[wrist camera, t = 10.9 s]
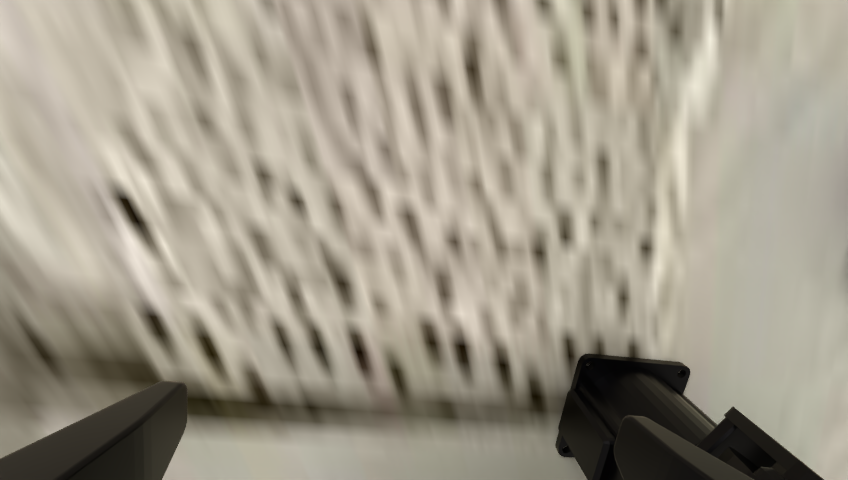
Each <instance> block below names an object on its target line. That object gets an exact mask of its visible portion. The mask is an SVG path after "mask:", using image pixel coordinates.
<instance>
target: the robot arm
mask: <svg viewBox="0 0 848 480" xmlns="http://www.w3.org/2000/svg"><path fill="white" fill-rule="evenodd" d="M588 362H591V363H590V365H588V366H586V364H587V363H588ZM680 370H681V371H680ZM679 371H680V372H679ZM678 372H679V373H678ZM689 375H690V369H689V368H688V367H687V366H685V365H684V364H683V363H681V362H672V361H661V360H651V359H640V358H629V357H618V356H608V355H597V354H585V355H583V356H581V357H580V359H579V361H578V364H577V368H576V371H575V375H574V379H573V382H572V386H571V389H570V391H569V392H568V394H567V398H566V402H565V405H564V409H563V413H562V416H561V420H560V424H559V434H558V437H557V441H556V449H557V451H558V453H559V454H560V455H561V456H563V457H575V458H576V460H577V462H578V464H579V465H580V467H581V469H582V471H583V472H584V474H585V476H586V478H587V479H588V480H824V479H823V478H822V477H820V476H819V475H818V474H817V473H815V472H814V471H813V470H812V469H810V468H809V467H808V466H807V465H805V464H804V463H803V462H802V461H800V460H799V459H798V458H797V457H795V456H794V455H793V454H792V453H790V452H789V451H788V450H787V449H785V448H784V447H783V446H782V445H780V444H779V443H778V442H777V441H775V440H774V439H773V438H772V437H770V436H769V435H768V434H767V433H765V432H764V431H763V430H762V429H760V428H759V427H758V426H757V425H755V424H754V423H753V422H752V421H750V420H749V419H748V418H747V417H745V416H744V415H743V414H742V413H740V412H739V411H738V410H737V409H735V408H734V407H732V408H731V409H730V410H729V411H728V412H727V413H726V414H725V415H724V416H725V417H726V418H725V419H724V420H723V421H721V422H720V423H719V424H718V425H717V424H716V423H714V422H713V421H712V420H711V419H710V418H709V417H708V416H707V415H706V414H704V413H703V412H702V411H701V410H700V409H699V408H698V407H697V406H695V405H694V404H693V403H692V402H691V401H690V400H689V399H688V398H687V397H685V396H684V395H683V392H684V389H685V387H686V384H687V381H688V378H689ZM186 423H187V386H186V384H185V383H184V382H176V381H161V382H158V383H156V384H154V385H152V386H150V387H148V388H146V389H144V390H142V391H140V392H138V393H136V394H133V395H131V396H129V397H127V398H125V399H123V400H121V401H119V402H117V403H115V404H113V405H111V406H109V407H107V408H104V409H102V410H100V411H98V412H96V413H94V414H92V415H90V416H88V417H86V418H84V419H82V420H80V421H78V422H76V423H73V424H71V425H69V426H67V427H65V428H63V429H61V430H59V431H57V432H55V433H53V434H51V435H49V436H47V437H44V438H42V439H40V440H38V441H36V442H34V443H32V444H30V445H28V446H26V447H24V448H22V449H20V450H17V451H15V452H13V453H11V454H9V455H7V456H5V457H3V458H1V459H0V480H162V478H163V476H164V474H165V472H166V470H167V468H168V465H169V463H170V461H171V459H172V457H173V455H174V452H175V450H176V448H177V446H178V444H179V442H180V440H181V437H182V435H183V433H184V430H185V427H186ZM565 446H567V447H565ZM563 447H565V448H563Z"/></svg>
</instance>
